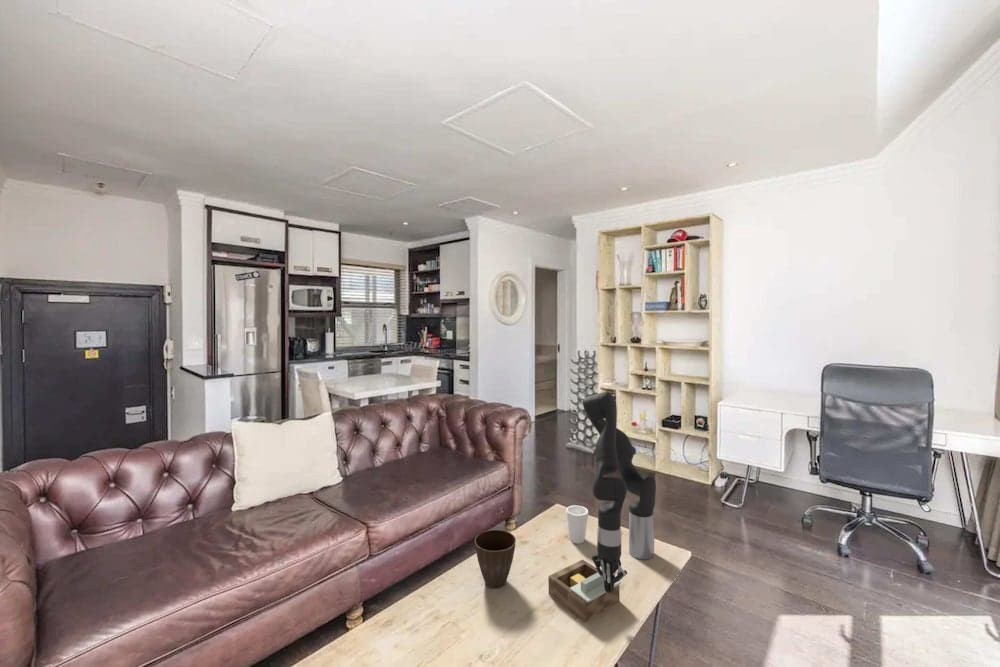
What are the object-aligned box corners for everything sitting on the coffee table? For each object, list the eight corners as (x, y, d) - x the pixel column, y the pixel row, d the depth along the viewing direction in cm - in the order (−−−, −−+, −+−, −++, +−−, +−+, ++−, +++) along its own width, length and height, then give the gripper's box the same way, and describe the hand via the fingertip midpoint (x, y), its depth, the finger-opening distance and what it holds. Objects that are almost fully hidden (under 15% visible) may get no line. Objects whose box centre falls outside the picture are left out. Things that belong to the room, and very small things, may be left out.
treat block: (578, 586, 154) (578, 573, 154) (586, 592, 151) (586, 579, 150) (570, 591, 152) (570, 577, 151) (578, 597, 148) (578, 583, 148)
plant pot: (505, 566, 168) (504, 526, 167) (523, 588, 155) (523, 544, 154) (469, 576, 162) (468, 535, 161) (485, 600, 148) (484, 555, 147)
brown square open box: (582, 576, 161) (582, 559, 161) (619, 600, 147) (619, 582, 147) (548, 594, 151) (548, 576, 151) (584, 622, 137) (584, 602, 137)
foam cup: (591, 537, 188) (591, 508, 187) (583, 547, 180) (583, 517, 179) (571, 532, 193) (571, 503, 192) (562, 541, 185) (562, 512, 185)
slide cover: (602, 572, 152) (602, 562, 152) (620, 583, 146) (620, 573, 145) (569, 589, 143) (569, 579, 143) (587, 602, 136) (587, 591, 136)
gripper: (585, 534, 142) (585, 585, 143) (618, 552, 131) (617, 607, 132) (601, 527, 146) (601, 577, 147) (633, 544, 135) (633, 598, 136)
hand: (608, 591), depth 139 cm, fingers closed
